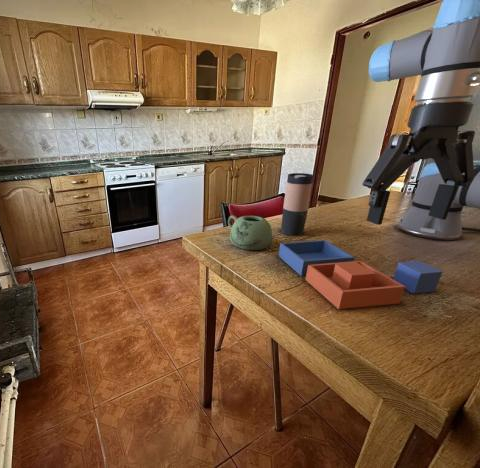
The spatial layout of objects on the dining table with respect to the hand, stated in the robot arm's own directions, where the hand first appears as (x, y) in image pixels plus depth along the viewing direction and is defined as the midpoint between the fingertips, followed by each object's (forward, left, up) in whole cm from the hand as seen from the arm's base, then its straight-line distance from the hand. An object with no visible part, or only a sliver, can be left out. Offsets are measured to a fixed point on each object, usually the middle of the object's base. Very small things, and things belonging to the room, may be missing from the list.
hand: (405, 220), depth 52 cm
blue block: (-7, 0, -16) cm, 17 cm away
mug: (+20, -30, -16) cm, 39 cm away
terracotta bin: (+8, 0, -16) cm, 18 cm away
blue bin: (+8, -13, -16) cm, 22 cm away
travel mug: (+1, -36, -16) cm, 39 cm away
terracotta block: (+8, 0, -16) cm, 18 cm away
